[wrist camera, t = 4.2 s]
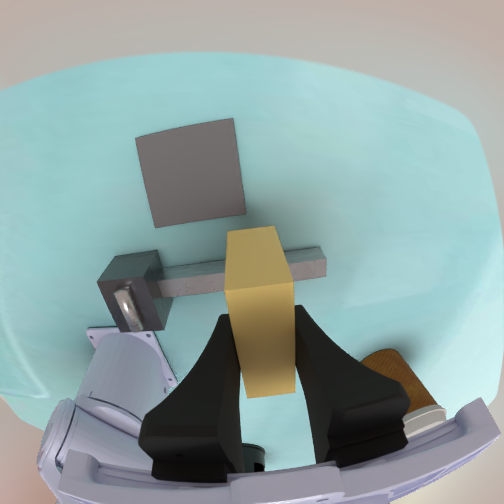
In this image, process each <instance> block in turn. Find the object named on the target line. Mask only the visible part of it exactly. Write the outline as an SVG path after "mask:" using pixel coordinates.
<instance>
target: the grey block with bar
mask: <svg viewBox="0 0 504 504" xmlns="http://www.w3.org/2000/svg"><path fill="white" fill-rule="evenodd" d="M284 255H285V258H286V261H287V264H288V267H289V270H290V273H291V276H292V279H293V281H300V280H306V279H313V278H319V277H326V257H325V255H324V254H323V252H322V250H321V249H320V247H315V248H308V249H301V250H294V251H286V252H284ZM225 266H226V260H220V261H213V262H205V263H198V264H190V265H183V266H175V267H168V268H162V265H161V262H160V258H159V255H158V252H157V250H154V251H147V252H141V253H134V254H128V255H121V256H115V257H114V258H113V260H112V261H111V262H110V264H109V265H108V267H107V268H106V269H105V271H104V272H103V274H102V275H101V276H100V278H99V279H98V281H97V284H98V286H99V288H100V291H101V293H102V295H103V297H104V300H105V302H106V304H107V306H108V308H109V310H110V313H111V315H112V317H113V319H114V321H115V323H116V325H117V327H118V329H119V331H120V333H125V332H133V333H137V332H145V331H161V330H164V329H165V326H166V322H167V319H168V315H169V311H170V308H171V304H172V301H173V299H172V297H176V296H185V295H194V294H202V293H211V292H219V291H224V287H225Z"/></svg>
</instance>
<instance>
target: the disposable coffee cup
mask: <svg viewBox="0 0 504 504" xmlns="http://www.w3.org/2000/svg"><path fill="white" fill-rule="evenodd" d="M361 363H362V364H364V365H365V366H367V367H368V368H370V369H372V370H374V371H376V372H378V373H380V374H382V375H384V376H386V377H389V378H391V379H394V380H396V381H399V382H400V383H401V384H402V386H403V387H404V389H405V390H406V392H407V394H408V396H409V398H410V400H411V404H410V407H409V409H408V411H407V412H406V414H405V416H404V417H403V419H402V420H403V422H404V424H405V427H404V429H403V430H404V432H405V435H406V437H407V438H409V437H411V436H414V435H416V434H418V433H421V432H423V431H426V430H428V429H430V428H432V427H435V426H437V425H439V424H441V423H443V422H445V421H446V410H445V409H444V408H442V407H441V406H440V405H438V404H437V403H436V401H435V400H434V399H433V397H432V396H431V395H430V393H429V392H428V391H427V389H426V388H425V387H424V385H423V384H422V383H421V381H420V380H419V379H418V377H417V376H416V375H415V373H414V372H413V371H412V369H411V368H410V367H409V366H408V364H407V363H406V362H405V360H404V359H403V358H402V357H401V355H400V354H399V353H398V352H397V351H396V350H393V349H385V350H381V351H378V352H375V353H373V354H371V355H370V356H368V357H367V358H365V359H364V360H363V361H362V362H361Z"/></svg>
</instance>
